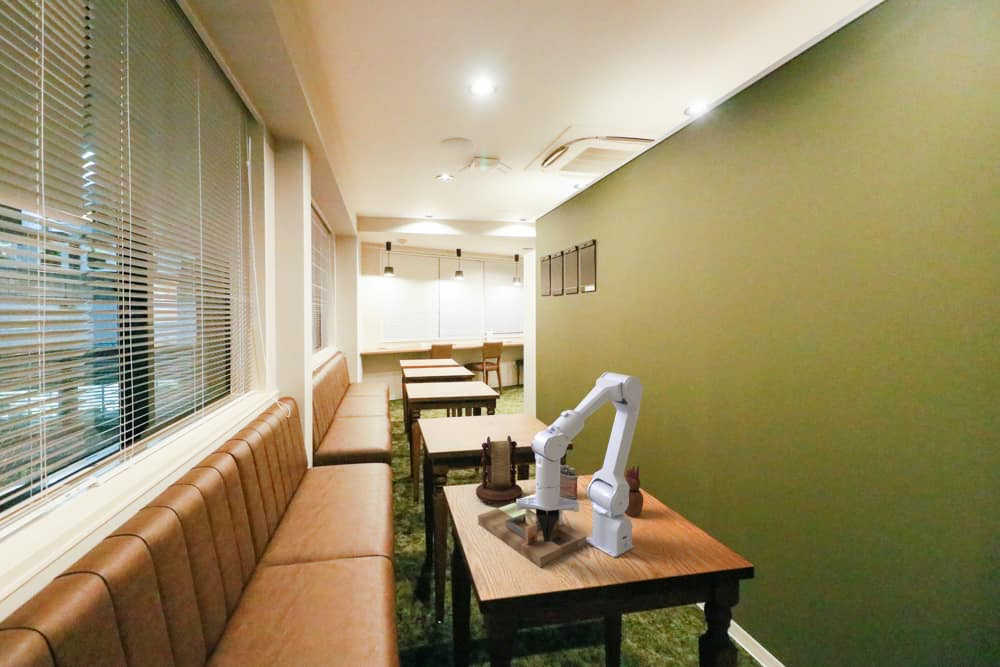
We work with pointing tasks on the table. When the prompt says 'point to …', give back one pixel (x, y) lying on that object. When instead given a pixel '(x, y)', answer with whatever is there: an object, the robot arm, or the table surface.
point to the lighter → (568, 483)
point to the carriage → (527, 532)
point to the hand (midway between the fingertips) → (546, 539)
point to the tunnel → (538, 551)
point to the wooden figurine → (634, 493)
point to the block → (531, 517)
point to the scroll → (499, 473)
